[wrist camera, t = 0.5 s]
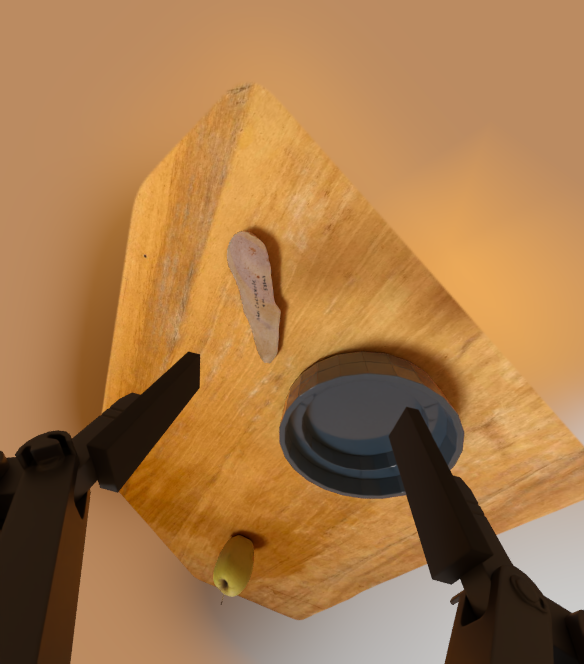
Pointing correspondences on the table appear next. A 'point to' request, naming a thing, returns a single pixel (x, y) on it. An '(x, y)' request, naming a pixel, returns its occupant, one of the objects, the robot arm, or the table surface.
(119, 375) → the table surface
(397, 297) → the table surface
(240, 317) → the table surface
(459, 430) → the bowl
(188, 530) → the table surface
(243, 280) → the stone tool
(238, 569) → the apple
